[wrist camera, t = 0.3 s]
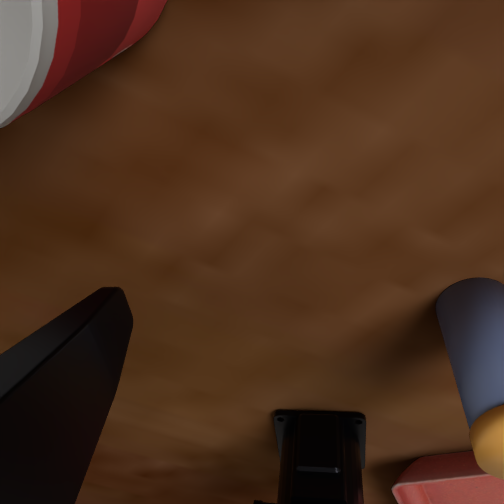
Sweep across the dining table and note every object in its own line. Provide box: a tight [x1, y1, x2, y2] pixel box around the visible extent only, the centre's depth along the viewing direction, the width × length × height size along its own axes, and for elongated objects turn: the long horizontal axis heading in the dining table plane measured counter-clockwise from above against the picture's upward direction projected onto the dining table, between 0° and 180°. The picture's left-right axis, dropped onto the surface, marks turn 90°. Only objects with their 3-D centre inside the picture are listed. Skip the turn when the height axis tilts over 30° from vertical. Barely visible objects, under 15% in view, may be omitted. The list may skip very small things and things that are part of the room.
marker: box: [436, 278, 504, 480], centre depth 22 cm, size 4×4×9 cm
